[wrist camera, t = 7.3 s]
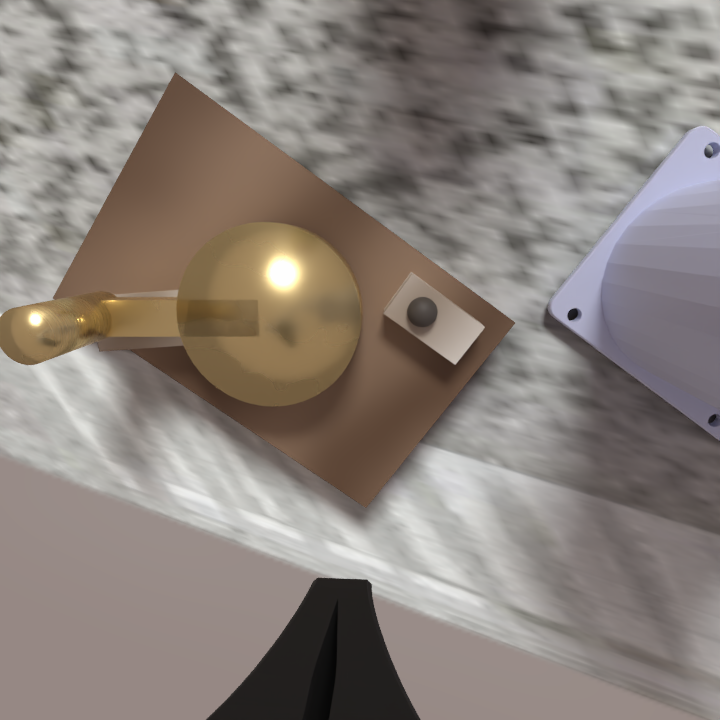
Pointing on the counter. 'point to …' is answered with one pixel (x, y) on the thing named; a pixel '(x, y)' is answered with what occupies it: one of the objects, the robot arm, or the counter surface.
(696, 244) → the robot arm
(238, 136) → the stand
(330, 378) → the gold door handle
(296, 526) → the counter surface
